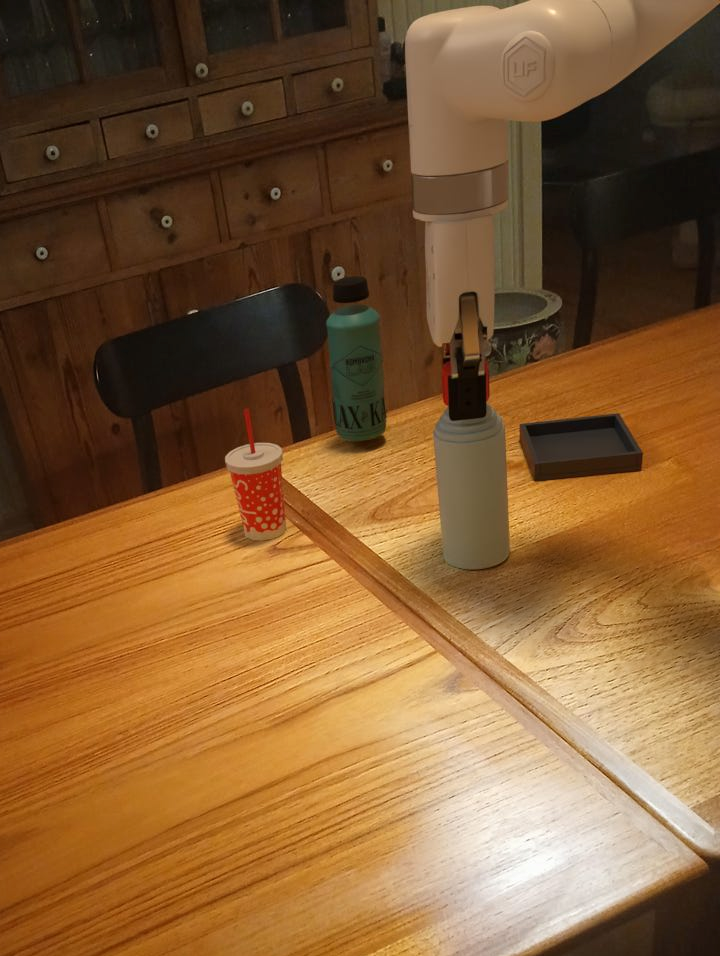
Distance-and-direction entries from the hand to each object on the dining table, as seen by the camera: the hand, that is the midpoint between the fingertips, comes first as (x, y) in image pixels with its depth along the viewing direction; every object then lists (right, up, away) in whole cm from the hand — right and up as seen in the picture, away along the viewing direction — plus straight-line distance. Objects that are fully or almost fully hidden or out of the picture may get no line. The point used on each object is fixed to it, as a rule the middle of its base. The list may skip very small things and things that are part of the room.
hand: (464, 406), depth 89 cm
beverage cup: (-17, -9, +19) cm, 28 cm away
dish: (+18, 0, +22) cm, 29 cm away
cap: (0, +1, 0) cm, 1 cm away
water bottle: (+3, -13, +8) cm, 15 cm away
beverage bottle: (-5, +4, +35) cm, 35 cm away
